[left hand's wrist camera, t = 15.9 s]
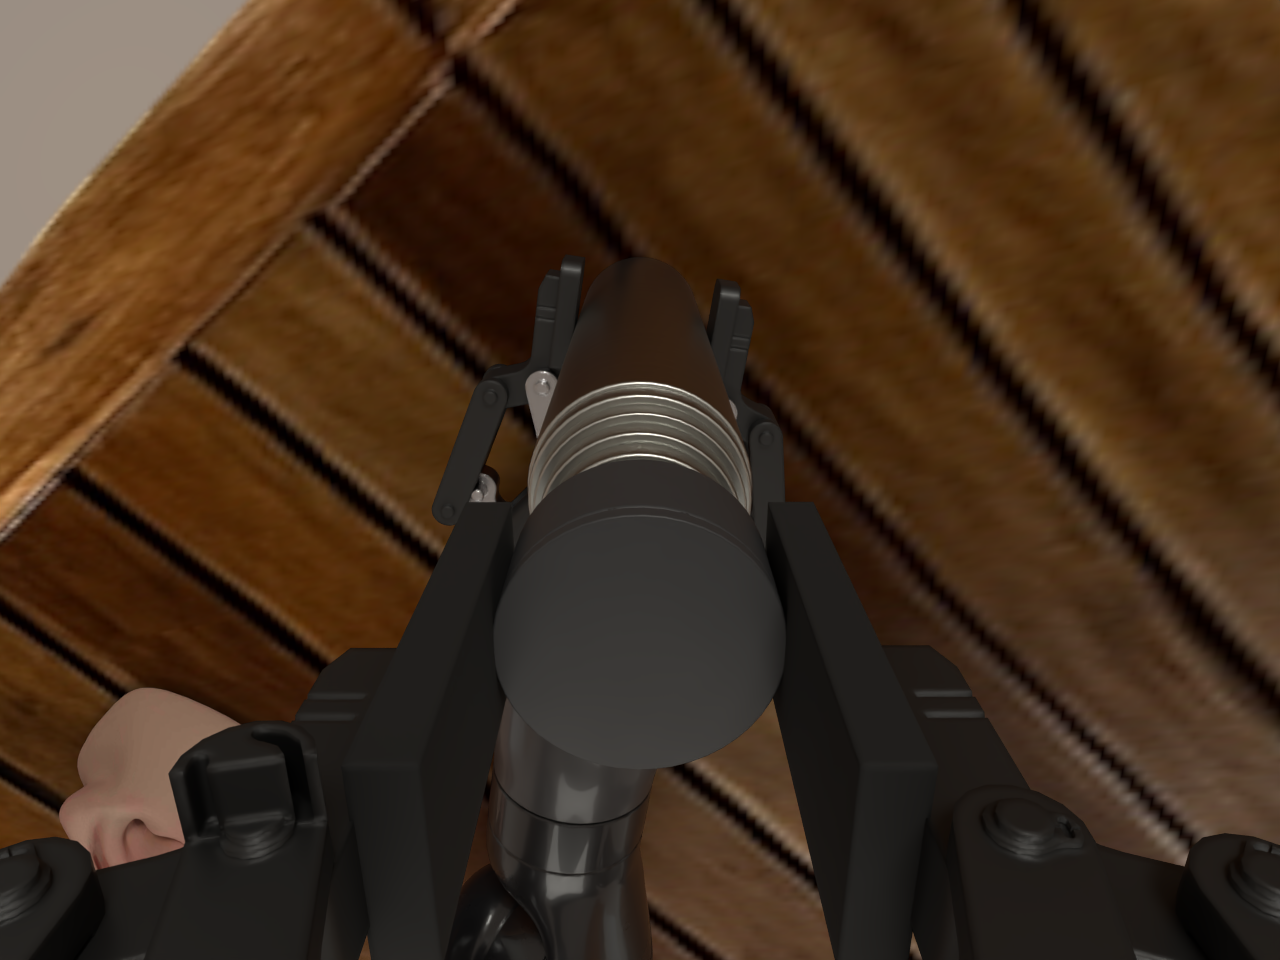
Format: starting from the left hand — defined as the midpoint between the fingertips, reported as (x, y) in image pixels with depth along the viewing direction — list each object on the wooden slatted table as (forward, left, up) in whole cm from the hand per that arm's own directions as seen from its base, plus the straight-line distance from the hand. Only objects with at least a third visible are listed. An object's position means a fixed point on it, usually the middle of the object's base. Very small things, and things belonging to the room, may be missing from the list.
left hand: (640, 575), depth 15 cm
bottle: (0, 0, -24) cm, 24 cm away
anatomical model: (-1, +35, -24) cm, 42 cm away
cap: (0, 0, +2) cm, 2 cm away
